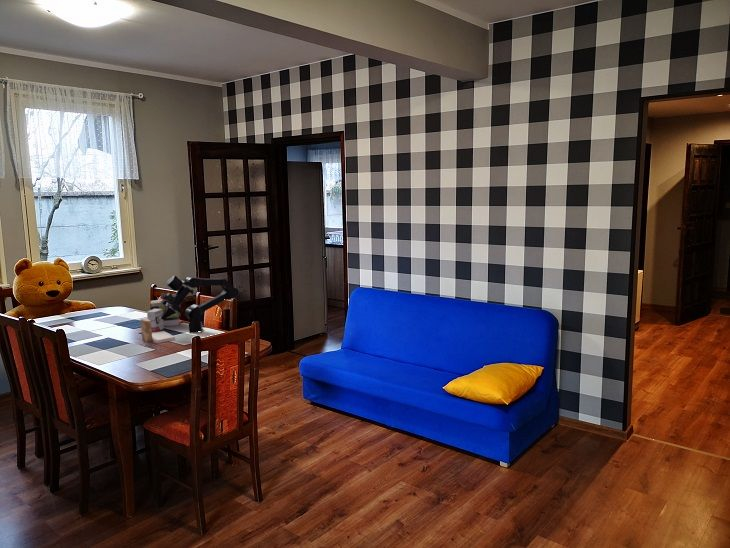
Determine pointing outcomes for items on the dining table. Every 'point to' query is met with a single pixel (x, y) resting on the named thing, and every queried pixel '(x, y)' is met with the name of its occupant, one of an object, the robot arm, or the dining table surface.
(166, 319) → the tea box
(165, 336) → the plate
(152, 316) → the ink box
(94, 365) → the dining table surface
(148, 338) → the stub
